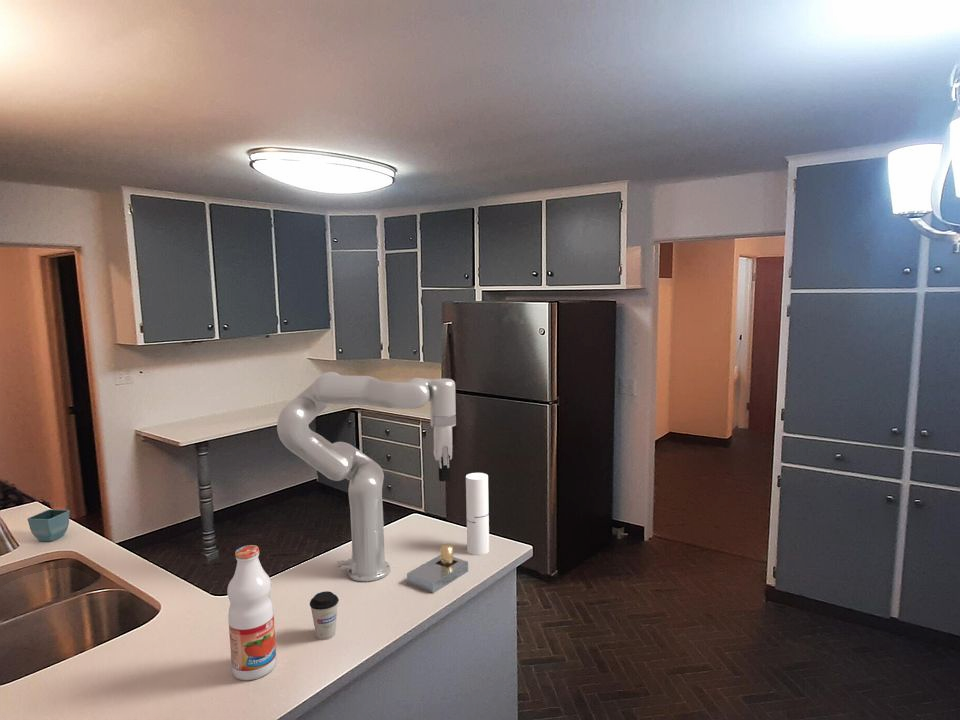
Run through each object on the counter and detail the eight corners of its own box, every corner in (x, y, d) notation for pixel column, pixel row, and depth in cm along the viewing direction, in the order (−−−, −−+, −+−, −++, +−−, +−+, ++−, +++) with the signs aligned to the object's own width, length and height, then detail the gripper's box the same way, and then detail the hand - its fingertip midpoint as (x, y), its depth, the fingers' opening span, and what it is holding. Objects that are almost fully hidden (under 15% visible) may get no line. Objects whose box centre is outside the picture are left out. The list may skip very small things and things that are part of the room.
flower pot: (28, 543, 202) (26, 518, 201) (51, 533, 211) (48, 509, 210) (51, 544, 201) (48, 519, 200) (72, 534, 210) (70, 510, 208)
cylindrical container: (489, 555, 188) (488, 479, 185) (466, 555, 188) (465, 479, 185) (489, 545, 195) (488, 472, 192) (467, 545, 195) (466, 472, 192)
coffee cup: (309, 630, 147) (307, 592, 146) (337, 624, 150) (335, 586, 149) (313, 645, 141) (311, 606, 139) (342, 638, 143) (340, 599, 142)
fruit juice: (253, 651, 139) (246, 538, 135) (285, 660, 135) (278, 543, 132) (222, 676, 130) (214, 555, 127) (256, 685, 126) (248, 561, 123)
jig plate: (433, 593, 164) (433, 583, 164) (407, 583, 170) (406, 573, 170) (468, 571, 177) (468, 561, 177) (442, 562, 183) (442, 553, 183)
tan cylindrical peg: (441, 575, 175) (441, 549, 174) (439, 569, 178) (439, 544, 177) (454, 574, 175) (454, 548, 174) (452, 568, 179) (452, 543, 178)
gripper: (428, 415, 181) (430, 473, 183) (432, 426, 167) (433, 489, 169) (453, 414, 182) (454, 472, 184) (458, 425, 168) (459, 487, 170)
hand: (444, 480), depth 177 cm, fingers closed
